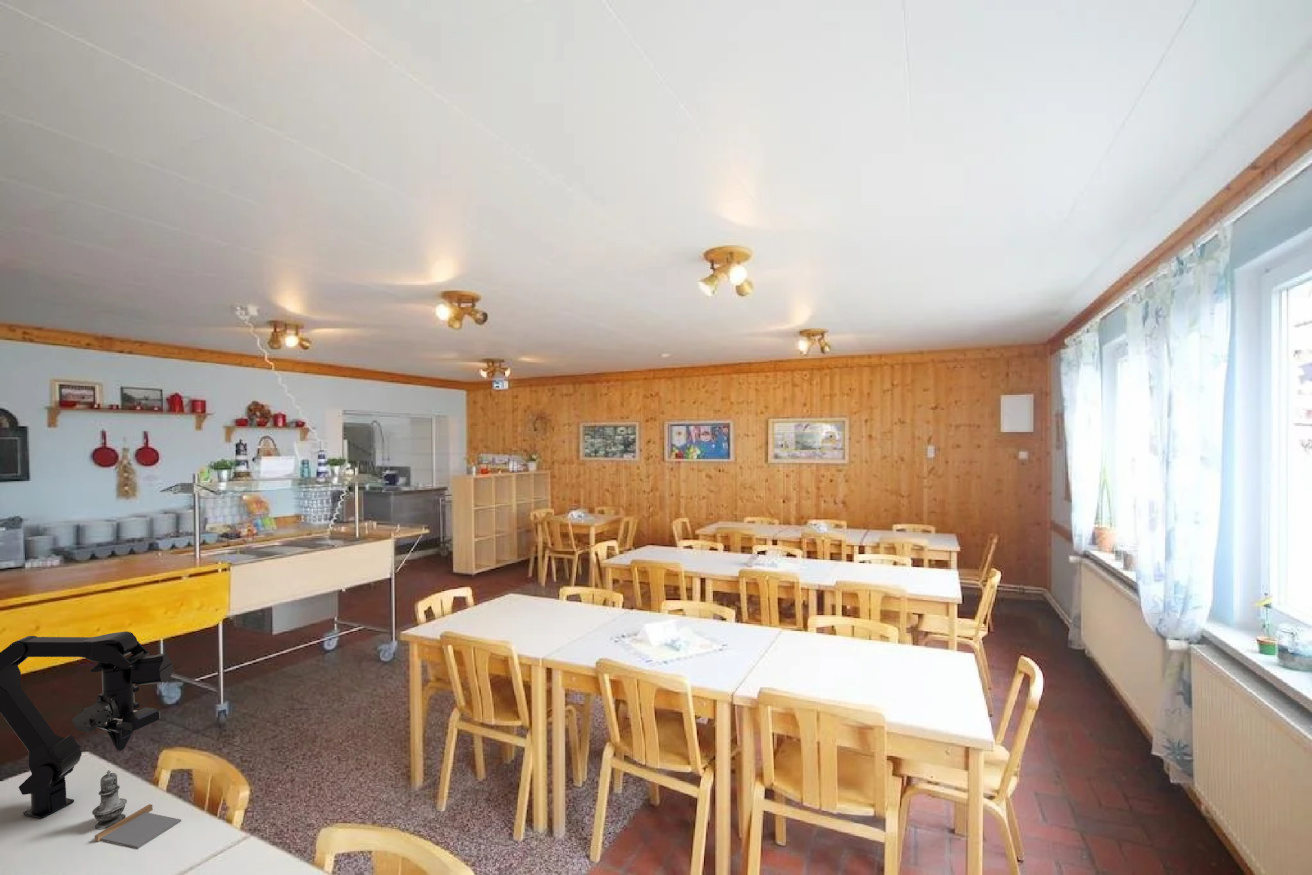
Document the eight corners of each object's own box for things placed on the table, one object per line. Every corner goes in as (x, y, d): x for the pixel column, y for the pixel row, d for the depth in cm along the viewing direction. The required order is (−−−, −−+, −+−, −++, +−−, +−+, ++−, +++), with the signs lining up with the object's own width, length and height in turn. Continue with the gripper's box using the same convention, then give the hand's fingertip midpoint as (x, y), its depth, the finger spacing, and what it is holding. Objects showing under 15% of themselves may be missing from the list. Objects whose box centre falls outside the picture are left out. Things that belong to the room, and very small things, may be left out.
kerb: (94, 840, 129) (94, 835, 129) (149, 809, 139) (149, 804, 139) (98, 841, 129) (97, 836, 129) (152, 809, 139) (152, 804, 139)
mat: (100, 840, 129) (100, 838, 129) (145, 813, 138) (145, 812, 138) (138, 848, 126) (137, 846, 126) (181, 821, 135) (181, 819, 135)
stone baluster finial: (106, 832, 132) (104, 779, 131) (85, 828, 133) (83, 776, 133) (134, 814, 137) (132, 764, 137) (114, 812, 139) (112, 761, 138)
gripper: (50, 697, 138) (52, 763, 138) (108, 705, 133) (110, 774, 133) (105, 677, 149) (107, 738, 149) (160, 684, 144) (163, 747, 144)
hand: (120, 749), depth 143 cm, fingers closed
